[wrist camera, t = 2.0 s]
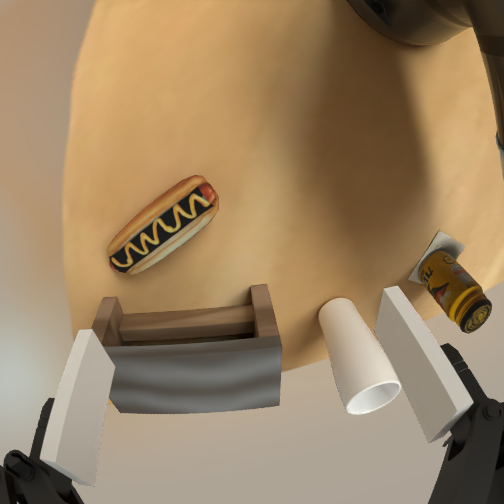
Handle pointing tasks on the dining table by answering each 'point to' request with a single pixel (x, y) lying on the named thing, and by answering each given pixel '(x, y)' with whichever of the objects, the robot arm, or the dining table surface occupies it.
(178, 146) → the dining table surface
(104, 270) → the dining table surface
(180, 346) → the gray-topped wooden box
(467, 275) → the condiment
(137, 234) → the hot dog
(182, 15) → the dining table surface
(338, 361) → the white tapered cylinder
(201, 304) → the dining table surface
